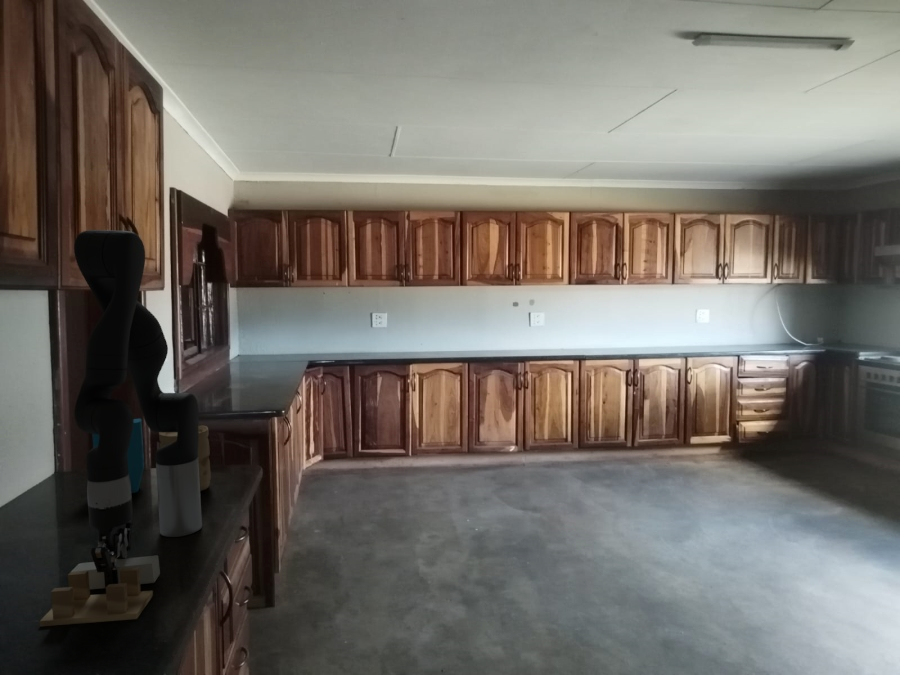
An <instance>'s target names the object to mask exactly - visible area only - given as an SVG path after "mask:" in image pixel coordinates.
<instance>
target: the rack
mask: <svg viewBox="0 0 900 675" xmlns="http://www.w3.org/2000/svg"><path fill="white" fill-rule="evenodd" d="M67 578H68V582H67V583H68V587H54V588H53V589H52V590H51V591H50V596H51V608H50V609H49V611H48V612H47V613H46V614H45V615H44V616H43V617H42V618H41V619H40V620H39V627H51V626H62V625H63V626H64V625H76V624H79V625H80V624H89V623H101V622H102V623H103V622H104V623H105V622H115V621H117V622H118V621H127V620H130V621H131V620H138V619H139V617H140V615H141V614H142V612H143V611H144V610H145V608H146V606H147V605H148V604H149V602H150V601H151V599H152V598H153V596H154V590H143V591H141V590H142V589H141V584H140V573H139V567H135V568H122V569H121V570H120V583H121V584H109V585H108V586H107V587H106V588H105V593H100V594H91V589H90V587H89V574H88V571H77V572H71V571H70V572H69V573H68V574H67Z"/></svg>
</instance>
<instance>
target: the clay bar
mask: <svg viewBox="0 0 900 675" xmlns="http://www.w3.org/2000/svg"><path fill="white" fill-rule="evenodd" d="M111 561H112V559H111ZM135 567H139V573H140V585H145V584H154V583H155V582H156V580H157V579H158V577H159V576H160V575H161V570H160V561H159V555H148V556H137V557H129V558H128V557H127V558H126V559H117V574H118V584H121V583H120V570H121V569H122V568H135ZM77 571H88V574H89V587H90V590H98V589H99V590H100V589H106V588H105V579H104V572H100V573H98V572H97V570H96V567H95V564H94V561H90V562H81V563H78V564H77V565H76V566H75V567H73V569H72V570H71V571H70V572H77Z"/></svg>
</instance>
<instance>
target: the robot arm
mask: <svg viewBox="0 0 900 675" xmlns="http://www.w3.org/2000/svg"><path fill="white" fill-rule="evenodd" d="M73 249H74V251H73V252H74V258H75V261H76V264H77V267H78V268H79V271H80V273H81V275H82V277H83V278H84V280H85V283H87V285H88V287H89V289H90V291H91V292H92V294H93V296H94V298H95V299H96V301H97V303H98V305H99V307H100V309H101V311H102V315H101V317H100V318H99V320H98V321H97V322H96V324H95V326H94V327H93V329H92V330H91V332H90V334H89V337H88V341H87V344H86V345H87V346H86V356H85V358H86V359H85V376H84V378H83V381H82V383H81V386H80V389H79V393H78V396H77V398H76V402H75V404H74V405H75V406H74V411H73V413H74V414H73V415H74V421H75V424H76V426H77V428H78V429H79V430H80V431H81V432H84V433H85V434H89V435H90V434H91V435H92V434H97V435H99V444H98V446H97V447H94V448H93V447H92V448H91V449H89V450H88V452H87V453H86V456H85V458H86V459H85V460H86V461H85V462H86V463H85V464H86V474H87V475H86V476H87V477H86V478H87V485H86V486H87V487H86V495H87V498H86V499H87V507H88V508H87V511H88V512H87V513H88V523H89V526H90V527H91V528H93V529H95V530H97V531H98V537H97V544H98V545H97V547H92V548H91V550H90V554H91V557H92V560H93V561H92V562H94V564H95V567H96V570H97V572H98V573H100V572H104V579H105V588H104V589H106V587H107V586H108V585H109V584H118V574H117V559H127V558H128V553H129V552H130V551H131V545H132V533H133V532H132V531H133V521H132V520H133V518H134V514H133V513H134V512H133V498H132V494H133V493H131V483H130V479H129V471H128V458H127V452H128V448H129V444H130V439H131V434H132V429H133V421H134V420H133V419H134V414H133V411H132V409H131V407H130V405H129V404H128V403H127V402H125V401H124V400H121V399H114V398H112V393H113V391H114V388H115V387H117V386H121V385H123V384H124V383H126V381H127V376H128V375H127V374H128V373H129V376H130V379H131V380H132V384H133V386H134V389H135V392H136V393H135V394H136V396H137V400H138V403H139V405H140V410H141V413H142V416H143V418H144V422H145V424H146V425H147V427H148V428H149V430H150V431H152V432H156V433H159V432H177V441H175V442H174V443H171V444H168V445H165V446H163V447H161V448H160V447H159V448H158V449H156V451H155V454H154V457H155V458H154V459H155V460H154V461H155V468H156V469H155V472H156V484H157V485H156V486H157V487H156V488H157V502H158V504H157V505H158V517H159V518H158V519H159V520H158V522H159V532H160V535H161V536H163V537H168V538H178V537H179V538H180V537H184V536H189V535H191V534H194V533H196V532H198V531H199V530H201V529H202V527H203V521H202V520H203V519H202V505H201V504H202V502H201V501H202V500H201V491H200V481H199V465H198V445H199V433H198V426H199V422H200V421H199V419H200V417H199V416H200V414H199V411H200V410H199V404H198V400H197V397H196V395H194V394H193V393H191V392H163V391H162V390H161V388H160V384H159V380H158V378H159V376H160V373H161V371H162V369H163V366H164V364H165V362H166V359H167V356H168V351H169V350H168V349H169V348H168V342H167V340H166V337H165V334H164V331H163V329H162V326H161V324H160V322H159V319H158V318H156V316H155V315H154V314H153V313H152V312H151V311H150V310H149V309H148V308H147V307H145V306H144V305H143V304H142V303H141V302H140V301H138V298H139V294H140V289H141V284H142V280H143V276H144V270H145V265H146V264H145V263H146V250H145V245H144V242H143V239H142V238H141V237H140V236H139V235H138V234H137V233H135V232H133V231H130V230H129V231H128V230H115V229H114V230H113V229H112V230H111V229H110V230H107V229H89V230H83V231H82V232H81V231H80V233H78V234H77V236H76V237H75V240H74V245H73ZM111 560H112V561H111Z"/></svg>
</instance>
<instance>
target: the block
mask: <svg viewBox="0 0 900 675" xmlns="http://www.w3.org/2000/svg"><path fill="white" fill-rule="evenodd" d="M133 420H134V421H133V429H132V434H131V439H130V444H129V448H128V452H127V458H128V471H129V479H130V483H131V494H134V493H138V492H139V489H140V485H141V481H142V477H143V473H144V468H145V458H144V457H145V456H144V442H143V441H144V440H143V439H144V438H143V425H142V418H133ZM91 435H92V446H93V447H92V448H94V447H97V446H98V444H99V435H97V434H91Z"/></svg>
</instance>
